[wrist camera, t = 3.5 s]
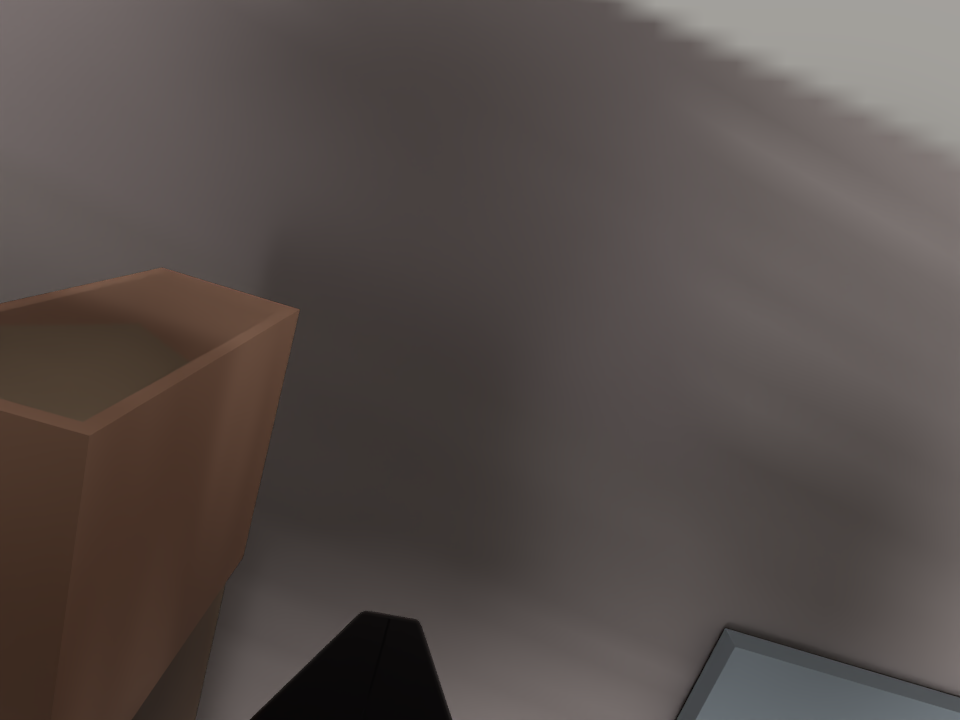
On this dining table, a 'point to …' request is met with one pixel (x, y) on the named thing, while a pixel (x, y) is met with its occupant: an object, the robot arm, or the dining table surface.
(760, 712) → the mat
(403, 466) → the dining table surface
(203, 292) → the bar
